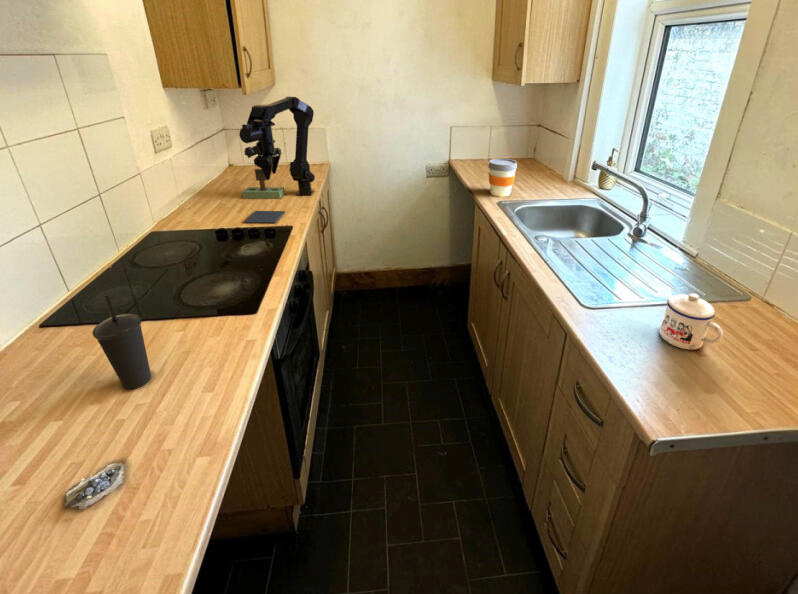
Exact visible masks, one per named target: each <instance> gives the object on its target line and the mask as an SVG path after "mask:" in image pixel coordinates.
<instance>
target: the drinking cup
mask: <svg viewBox="0 0 798 594" xmlns="http://www.w3.org/2000/svg"><path fill="white" fill-rule="evenodd" d="M103 298H104V300H105V304H106V306H107V308H108V311H109V315H110V317H108V318H106V319H104V320H102V321H101V322H99V323H98V324H97V325H95V326H94V327H93V329H92V332H91V334H92V336H93V338H94V339H96V340H97V342H98V344H99V346H100V347H101V349H102V351H103V353H104V354H105V356H106V359H107V360H108V362H109V363H110V365H111V367H112V369H113V371H114V372H115V374H116V377H117V378H118V380H119V381H120V383H121V385H122V387H123V388H124V389H125V390H136V389H139V388H141V387H144V386H145V385H146V384H148V383H149V382H150V381H151V379H152V373H151V369H150V364H149V359H148V353H147V348H146V345H145V339H144V334H143V329H142V325H141V324H142V318H141V316H140V315H138V314H135V313H123V314H118V315H116V312H115V309H114V305H113V304H112V301H111V298H110V295H104V297H103Z"/></svg>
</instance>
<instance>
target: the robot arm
mask: <svg viewBox="0 0 798 594" xmlns="http://www.w3.org/2000/svg"><path fill="white" fill-rule="evenodd" d="M287 110H289V112H290V113H291V114H292V115H293V121H294V123H295V125H296V132H295V133H296V136H295V154H294V155H295V156H294V159H293V161H290V162H289V170H288V171H289V172H290V173H289V174H290V176H291V178H292V181H294V182H297V188H298V191H297V193H296V195H297V196H312V194H313V193H314V192H315V190H314V189H312V182H314V181H315V178H316V176H315V174H314V173H312V172H311V166H310V163H309V161H308V141H309V127H310V125H311V124H312V122H313V120H314V113H315V112H314V109H313V108H312V107H311V105H309V104H307V103H305V102H304V101H302V100H301V99H300V98H298V97H297V96H286V97H284V98H281V99H279V100H277V101H273V102H271V103H268V104H256V105H252V107H251V110H250V113H249V115H248V119H247V121H246V123H245V124H244V123H243V124H241V128H240V129H239V133H238V136H239V138H240V140H241V142H243V143H244V144H250V143H254V142H256V143H255V144H256V145H253V146H248V147H244V151H243V152H244V156H246V157H247V158H248V159H251V158H252V157H254V156H255V158H254V159H253V164H254V166H256V167H258V168H259V169H262V171H263V173H264V175H265V177H266V179H267V180H266V181H270V180H271V176H272V174H273V175H274V174H276V173H277V170H278V166H279V164H280V163H279V162H280V160H281V157H282V149H281V148H280V147H275V143H276V140H275V139H274V137H273V136H274V135H273V129H272V128H273V126H275V125H276V123H275V122H274V121H272V120H273V119H275V118H276V116H277V115H278V114H280V113H283V112H285V111H287ZM256 155H257V156H256Z"/></svg>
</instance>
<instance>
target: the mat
mask: <svg viewBox="0 0 798 594" xmlns="http://www.w3.org/2000/svg"><path fill="white" fill-rule="evenodd" d="M284 214H285V210H254V212H252V213H251V215H249V217H247V218H246V219H245V220H243V224H276V223H277V222H278V220H280V218H282V216H283V215H284Z"/></svg>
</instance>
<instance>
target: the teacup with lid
mask: <svg viewBox="0 0 798 594" xmlns="http://www.w3.org/2000/svg"><path fill="white" fill-rule="evenodd" d="M715 313H716V312H715V309H714V307H713V306H712V305H711V304H710V303H709V302H707V301H706V300H704V299H702V298H700V296H699V295H698V294H697V293H689V294H674V295H672V296H671V295H670V297H669V298H668V299H667V301H666V309H665V311H664V314H663V319H662V322H661V325H660V328H659V334H660V337H662V339H663V340H664V341H666V342H667V343H669V344H670V345H672V346H674V347H677V348H680V349H682V350H683V349H684V350H697V349H700V348H701V347H702V346H703V344H704V343H706V344H709V345H714V344H717V343H719V342H721V340H722V339H723V338H724V331H723V329H722V327H721V326H719V325H718V324H717V323H715V322H713V321H712V319H713V318H715ZM710 327H711V328H712V329H714V330H715V331H716V332H717V336H716V338H715V339H711V338H708V337H706V336H707V333H708V331H709V328H710Z"/></svg>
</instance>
